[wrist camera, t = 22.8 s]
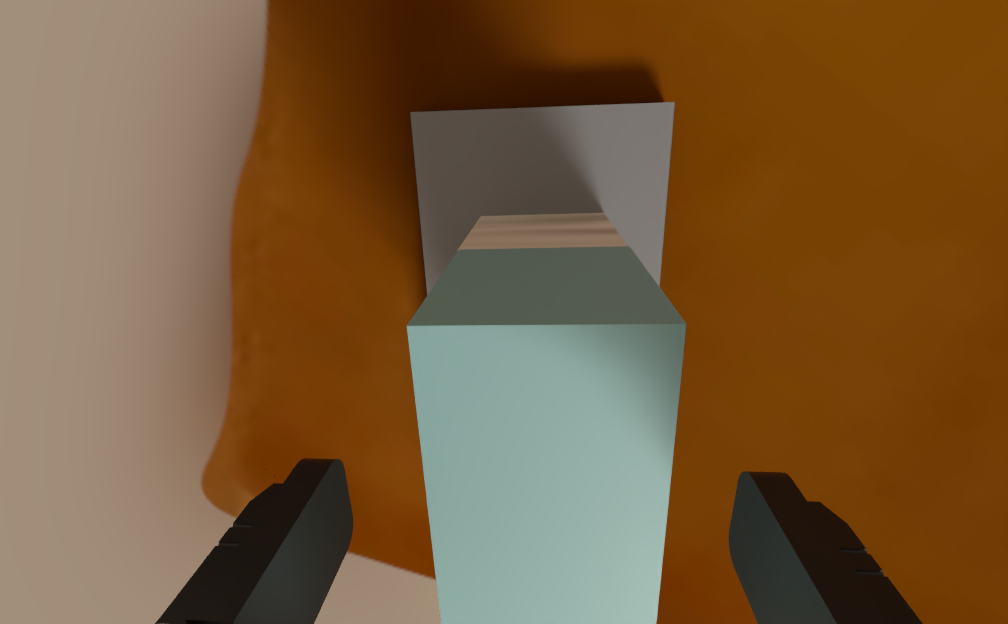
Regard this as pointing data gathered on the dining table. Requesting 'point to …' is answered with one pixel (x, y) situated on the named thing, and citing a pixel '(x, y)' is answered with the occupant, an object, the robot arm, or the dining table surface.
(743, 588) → the robot arm
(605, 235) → the cream brick
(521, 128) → the baseplate
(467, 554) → the teal brick
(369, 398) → the dining table surface
